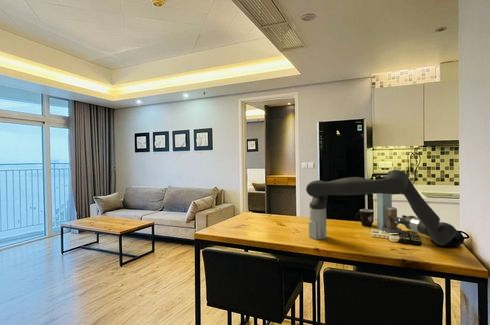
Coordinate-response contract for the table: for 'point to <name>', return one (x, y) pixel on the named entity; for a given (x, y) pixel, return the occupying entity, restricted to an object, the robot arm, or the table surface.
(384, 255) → the table surface
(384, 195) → the post
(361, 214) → the coffee mug
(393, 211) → the rail block
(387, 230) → the bracket
